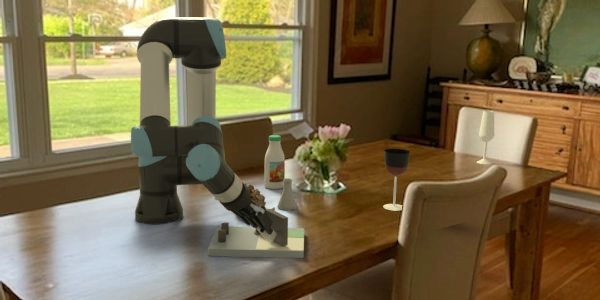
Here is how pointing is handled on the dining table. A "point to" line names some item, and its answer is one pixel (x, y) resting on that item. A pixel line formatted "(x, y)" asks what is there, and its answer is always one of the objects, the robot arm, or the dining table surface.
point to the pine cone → (257, 197)
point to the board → (254, 243)
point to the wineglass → (395, 169)
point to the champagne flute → (486, 132)
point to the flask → (287, 196)
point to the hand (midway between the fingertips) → (272, 237)
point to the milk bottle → (274, 164)
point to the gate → (279, 227)
